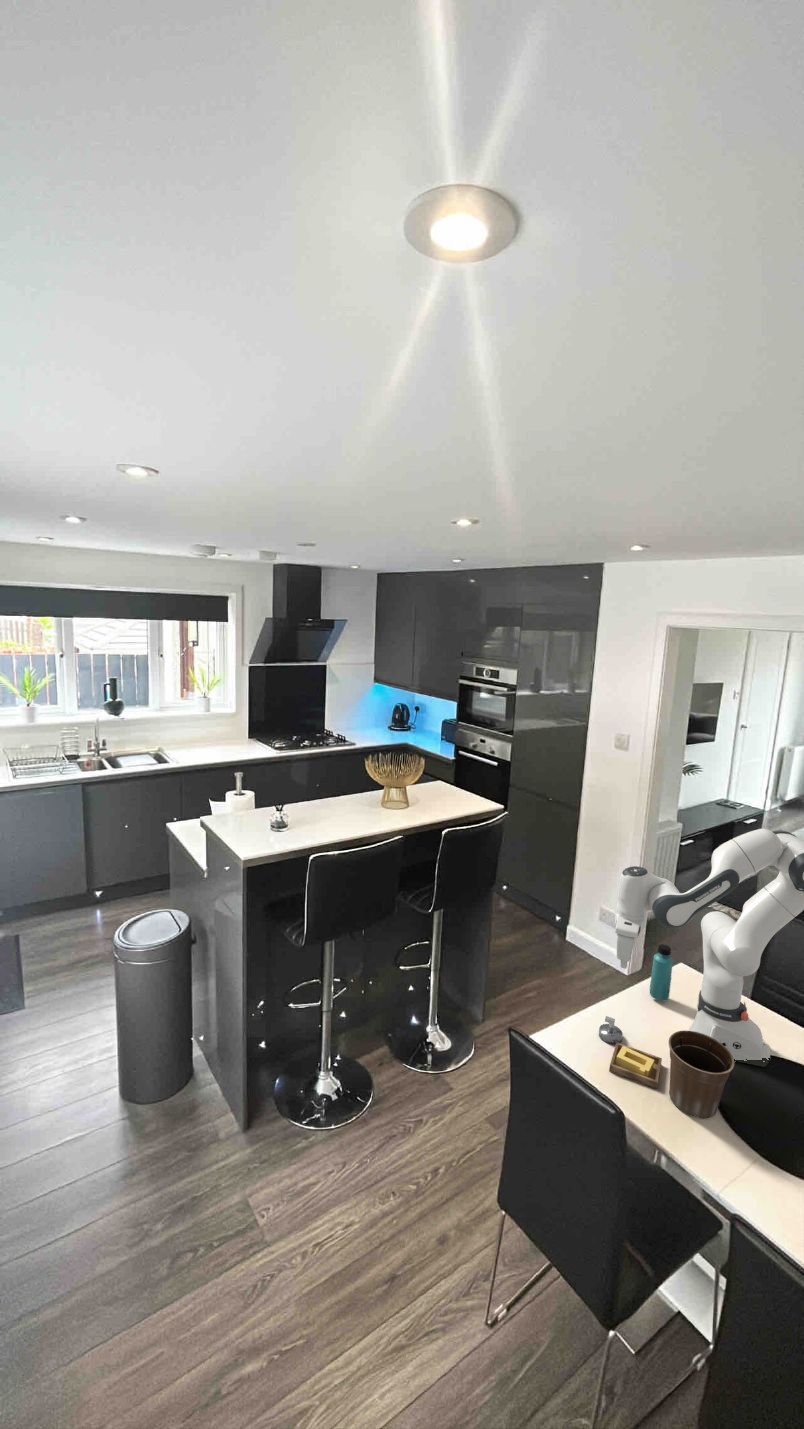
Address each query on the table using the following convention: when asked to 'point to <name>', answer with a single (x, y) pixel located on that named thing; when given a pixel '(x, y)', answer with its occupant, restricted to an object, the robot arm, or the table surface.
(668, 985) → the beverage bottle
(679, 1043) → the plant pot
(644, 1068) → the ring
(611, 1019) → the silver knob
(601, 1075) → the table surface
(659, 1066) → the tray
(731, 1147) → the table surface
